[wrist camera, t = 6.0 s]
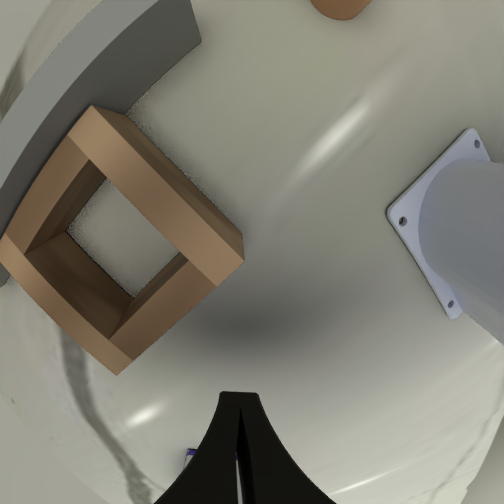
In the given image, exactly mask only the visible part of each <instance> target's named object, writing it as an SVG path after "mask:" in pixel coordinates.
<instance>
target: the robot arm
mask: <svg viewBox="0 0 504 504" xmlns="http://www.w3.org/2000/svg"><path fill="white" fill-rule="evenodd" d="M474 142H476V146H475V145H474ZM387 217H388V219H389V221H390V222H391V224H392V225H393V227H394V228H395V230H396V231H397V233H398V234H399V236H400V237H401V239H402V240H403V242H404V243H405V245H406V246H407V248H408V250H409V251H410V253H411V254H412V256H413V257H414V259H415V261H416V262H417V264H418V265H419V267H420V269H421V270H422V272H423V274H424V275H425V277H426V279H427V280H428V282H429V284H430V286H431V287H432V289H433V291H434V293H435V294H436V296H437V298H438V300H439V301H440V303H441V305H442V307H443V309H444V310H445V312H446V314H447V316H448V317H449V318H450V319H451V320H454V319H456V318H457V317H458V316H459V315H460V314H461V313H462V312H463V311H464V312H465V313H466V314H467V315H469V316H470V317H471V318H472V319H473V320H475V321H476V322H477V323H478V324H479V325H481V326H482V327H483V328H484V329H485V330H486V331H488V332H489V333H490V334H491V335H492V336H493V337H495V338H496V339H497V340H498V341H499V342H500V343H501V344H503V345H504V164H501V163H495V162H491V160H490V157H489V155H488V153H487V151H486V149H485V147H484V145H483V143H482V141H481V139H480V137H479V135H478V133H477V131H476V130H475V129H473V128H468V129H466V130H465V131H464V132H463V133H462V134H461V135H460V136H459V137H458V138H457V140H456V141H455V142H454V143H453V144H452V145H451V146H450V147H449V148H448V149H447V150H446V151H445V152H444V153H443V154H442V155H441V156H440V157H439V158H438V159H437V160H436V161H435V162H434V163H433V164H432V165H431V166H430V167H429V168H428V169H427V170H426V171H425V172H424V173H423V174H422V175H421V176H420V177H419V178H418V179H417V180H416V181H415V182H414V183H413V184H412V185H411V186H410V187H409V188H408V189H407V190H406V191H405V192H404V193H403V194H402V195H401V196H400V197H399V198H398V199H397V200H396V201H395V202H394V203H392V204H391V205H390V207H389V208H388V210H387ZM401 217H403V222H402V224H400V225H399V219H400V218H401ZM449 302H450V303H449ZM448 303H449V304H448ZM236 453H237V462H238V470H239V478H240V486H241V494H242V504H336V503H335V502H334V501H332V500H331V499H330V498H329V497H328V496H327V495H326V494H324V493H323V492H322V491H321V490H320V489H319V488H318V487H317V486H316V485H315V484H314V483H313V482H312V481H311V480H310V479H309V478H308V477H307V476H306V475H305V474H304V472H303V471H302V470H301V469H300V468H299V466H298V465H297V464H296V463H295V461H294V460H293V459H292V457H291V456H290V455H289V453H288V452H287V450H286V449H285V447H284V446H283V444H282V443H281V441H280V440H279V438H278V436H277V435H276V433H275V431H274V429H273V427H272V426H271V424H270V422H269V420H268V418H267V416H266V413H265V411H264V409H263V406H262V404H261V401H260V398H259V395H258V394H257V393H251V392H228V391H222V392H221V393H220V395H219V401H218V405H217V408H216V411H215V414H214V417H213V419H212V421H211V424H210V426H209V428H208V430H207V432H206V434H205V436H204V438H203V440H202V442H201V444H200V445H199V447H198V449H197V451H196V452H195V454H194V455H193V457H192V459H191V460H190V462H189V463H188V464H187V466H186V467H185V469H184V470H183V471H182V473H181V474H180V475H179V476H178V478H177V479H176V480H175V481H174V483H173V484H172V485H171V486H170V487H169V488H168V489H167V490H166V492H165V493H164V494H163V495H162V496H161V497H160V498H159V499H158V500H157V501H156V502H155V503H154V504H238V489H237V470H236Z"/></svg>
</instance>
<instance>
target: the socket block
mask: <svg viewBox="0 0 504 504" xmlns="http://www.w3.org/2000/svg"><path fill="white" fill-rule="evenodd" d="M106 178H108V179H109V180H110V181H111V182H112V183H113V184H114V185H115V186H116V188H117V189H118V190H119V191H120V192H121V193H122V194H123V195H124V196H125V197H126V198H127V199H128V200H129V201H130V202H131V203H132V204H133V205H134V206H135V207H136V208H137V209H138V210H139V211H140V212H141V213H142V214H143V215H144V216H145V217H146V218H147V219H148V220H149V221H150V222H151V223H152V224H153V225H154V226H155V227H156V228H157V229H158V230H159V231H160V232H161V233H162V234H163V235H164V236H165V237H166V238H167V239H168V240H169V241H170V242H171V243H172V244H173V245H174V246H175V247H176V248H177V249H178V250H179V251H180V252H179V253H178V254H177V255H176V256H175V257H174V258H173V259H172V260H171V261H170V262H169V263H168V264H167V265H166V266H165V267H164V268H163V269H162V270H161V271H160V272H159V273H158V274H157V275H156V276H155V277H154V278H153V279H152V280H151V281H150V282H149V283H148V284H147V285H146V287H145V288H144V289H143V290H142V291H141V292H140V293H139V294H138V295H137V296H136V297H135V298H134V299H132V298H131V297H130V296H129V295H128V294H127V293H126V292H124V291H123V290H122V289H121V288H120V287H119V286H118V285H117V284H116V283H115V282H114V281H113V280H112V279H111V278H110V277H109V276H108V275H107V274H106V273H105V272H104V271H103V270H102V269H101V268H100V267H99V266H98V265H97V264H96V263H95V262H94V261H93V260H92V259H91V258H90V257H89V256H88V255H87V254H86V253H85V252H84V251H83V250H82V249H81V248H80V247H79V246H78V245H77V244H76V243H75V242H74V241H73V240H72V238H71V237H70V236H69V235H68V234H67V233H66V232H65V231H66V229H67V228H68V226H69V225H70V224H71V222H72V221H73V220H74V218H75V217H76V215H77V214H78V213H79V211H80V210H81V209H82V208H83V206H84V205H85V204H86V202H87V201H88V200H89V199H90V197H91V196H92V195H93V193H94V192H95V191H96V190H97V188H98V187H99V186H100V185H101V184H102V182H103V181H104V180H105V179H106ZM0 262H1V263H2V265H3V266H4V267H5V268H6V269H7V271H8V272H9V273H10V274H11V275H12V276H13V278H14V279H15V280H16V281H17V282H18V283H19V284H20V286H21V287H22V288H23V289H24V290H25V291H26V292H27V293H28V294H29V296H30V297H31V298H32V299H33V300H34V301H35V302H36V303H37V304H38V305H39V306H40V307H41V308H42V309H43V310H44V311H45V312H46V313H47V314H48V315H49V316H50V317H51V318H52V319H53V320H54V321H55V322H56V323H57V324H58V325H59V326H60V327H61V328H62V329H63V330H64V331H65V332H66V333H67V334H68V335H70V336H71V337H72V338H73V339H74V340H75V341H76V342H77V343H78V344H79V345H81V346H82V347H83V348H84V349H85V350H86V351H87V352H88V353H90V354H91V355H92V356H93V357H94V358H95V359H97V360H98V361H99V362H100V363H101V364H103V365H104V366H105V367H106V368H108V369H109V370H110V371H111V372H113V373H114V374H115V375H116V376H117V375H118V374H119V373H120V372H121V371H123V370H124V369H125V368H126V367H127V366H128V365H129V364H130V363H132V362H133V361H134V360H135V359H136V358H137V357H138V356H139V355H141V354H142V353H143V352H144V351H145V350H146V349H147V348H148V347H150V346H151V345H152V344H153V343H154V342H155V341H156V340H157V339H159V338H160V337H161V336H162V335H163V334H164V333H165V332H166V331H167V330H169V329H170V328H171V327H172V326H173V325H174V324H175V323H176V322H178V321H179V320H180V319H181V318H182V317H183V316H184V315H185V314H187V313H188V312H189V311H190V310H191V309H192V308H193V307H194V306H196V305H197V304H198V303H199V302H200V301H201V300H202V299H203V298H204V297H206V296H207V295H208V294H209V293H210V292H211V291H212V290H213V289H215V288H216V287H217V286H218V285H219V284H220V283H221V282H222V281H224V280H225V279H226V278H227V277H228V276H229V275H230V274H231V273H232V272H234V271H235V270H236V269H237V268H238V267H239V266H240V265H241V264H243V263H244V262H245V258H244V249H243V240H242V233H241V232H240V231H239V230H238V229H237V228H236V227H235V226H234V225H233V224H232V223H231V222H230V221H229V220H228V219H227V218H226V217H225V216H224V215H223V214H222V213H221V212H220V211H219V210H218V209H217V208H216V206H215V205H214V204H213V203H212V202H211V201H210V200H209V199H208V198H207V197H206V196H205V195H204V194H203V193H202V192H201V191H200V190H199V189H198V188H197V187H196V186H195V185H194V184H193V183H192V182H191V181H190V180H189V179H188V178H187V177H186V176H185V175H184V174H183V173H182V172H181V171H180V170H179V169H178V168H177V167H176V166H175V165H174V164H173V163H172V162H171V161H170V160H169V159H168V158H167V157H166V155H165V154H164V153H163V152H162V151H161V150H160V149H159V148H158V147H157V146H156V145H155V144H154V143H153V142H152V141H151V140H150V139H149V138H148V137H147V136H146V135H145V134H144V133H143V132H142V131H141V130H140V129H139V128H138V127H137V126H136V125H135V124H134V123H133V122H132V121H131V120H130V119H129V118H128V117H127V116H126V115H123V114H120V113H116V112H113V111H110V110H107V109H103V108H100V107H97V106H93V105H91V106H90V107H89V108H88V109H87V110H86V112H85V113H84V114H83V115H82V116H81V118H80V119H79V120H78V121H77V122H76V124H75V125H74V126H73V128H72V129H71V130H70V131H69V133H68V134H67V135H66V137H65V138H64V139H63V140H62V142H61V143H60V145H59V146H58V147H57V149H56V150H55V151H54V153H53V154H52V156H51V157H50V158H49V160H48V161H47V163H46V164H45V166H44V167H43V169H42V170H41V172H40V173H39V175H38V176H37V178H36V179H35V181H34V182H33V184H32V186H31V187H30V189H29V190H28V192H27V194H26V195H25V197H24V199H23V200H22V202H21V204H20V205H19V207H18V209H17V211H16V212H15V214H14V216H13V218H12V220H11V221H10V223H9V225H8V227H7V229H6V231H5V233H4V235H3V237H2V239H1V241H0Z"/></svg>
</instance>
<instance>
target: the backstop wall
mask: <svg viewBox="0 0 504 504" xmlns="http://www.w3.org/2000/svg"><path fill="white" fill-rule="evenodd" d="M201 42H202V41H201V37H200V34H199V30H198V27H197V23H196V20H195V16H194V13H193V9H192V6H191V2H190V0H102V1H101V2H100V3H99V4H98V5H97V6H96V7H95V8H94V9H93V10H92V11H91V12H90V13H89V14H88V15H86V16H85V17H84V18H83V19H82V20H81V21H80V22H79V23H78V24H77V26H76V27H75V28H74V29H73V30H72V31H71V32H70V33H69V34H68V35H67V36H66V37H65V38H64V39H63V40H62V42H61V43H60V44H59V45H58V46H57V47H56V48H55V50H54V51H53V52H52V53H51V54H50V55H49V57H48V58H47V59H46V60H45V61H44V63H43V64H42V65H41V66H40V68H39V69H38V70H37V72H36V73H35V74H34V75H33V77H32V78H31V79H30V81H29V82H28V83H27V85H26V86H25V88H24V89H23V90H22V92H21V93H20V95H19V96H18V98H17V99H16V101H15V102H14V103H13V105H12V107H11V108H10V110H9V111H8V113H7V114H6V116H5V117H4V119H3V121H2V122H1V124H0V241H1V239H2V237H3V235H4V233H5V231H6V229H7V227H8V225H9V223H10V221H11V220H12V218H13V216H14V214H15V212H16V211H17V209H18V207H19V205H20V204H21V202H22V200H23V199H24V197H25V195H26V194H27V192H28V190H29V189H30V187H31V186H32V184H33V182H34V181H35V179H36V178H37V176H38V175H39V173H40V172H41V170H42V169H43V167H44V166H45V164H46V163H47V161H48V160H49V158H50V157H51V156H52V154H53V153H54V151H55V150H56V149H57V147H58V146H59V145H60V143H61V142H62V140H63V139H64V138H65V137H66V135H67V134H68V133H69V131H70V130H71V129H72V128H73V126H74V125H75V124H76V122H77V121H78V120H79V119H80V118H81V116H82V115H83V114H84V113H85V112H86V110H87V109H88V108H89V107H90V106H91V105H93V106H97V107H100V108H103V109H107V110H110V111H113V112H116V113H120V114H123V115H124V114H125V112H126V111H127V110H128V109H129V108H130V107H131V106H132V105H133V104H134V103H135V102H136V101H137V100H138V99H139V98H140V97H141V96H142V95H143V94H144V93H145V92H146V91H147V90H148V89H149V88H150V87H151V86H152V85H153V84H154V83H155V82H156V81H157V80H158V79H159V78H160V77H161V76H163V75H164V74H165V73H166V72H167V71H168V70H169V69H170V68H171V67H172V66H174V65H175V64H176V63H177V62H178V61H179V60H180V59H181V58H183V57H184V56H185V55H186V54H187V53H188V52H190V51H191V50H192V49H193V48H194V47H196V46H197V45H198V44H199V43H201ZM9 275H10V273H9V272H8V271H7V269H6V268H5V267H4V266H3V265H2V263H1V262H0V287H2V286H3V285H4V284H5V283H6V281H7V279H8V277H9Z"/></svg>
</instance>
